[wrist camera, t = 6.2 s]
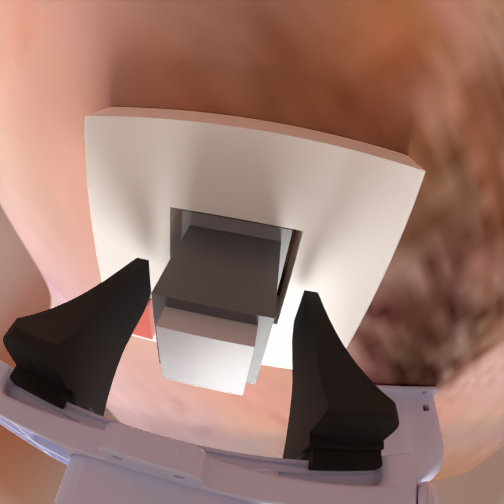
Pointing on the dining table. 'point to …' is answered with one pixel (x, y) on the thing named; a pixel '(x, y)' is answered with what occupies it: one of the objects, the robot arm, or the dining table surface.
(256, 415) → the dining table surface
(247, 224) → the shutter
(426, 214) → the dining table surface
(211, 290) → the plug
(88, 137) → the socket plate
